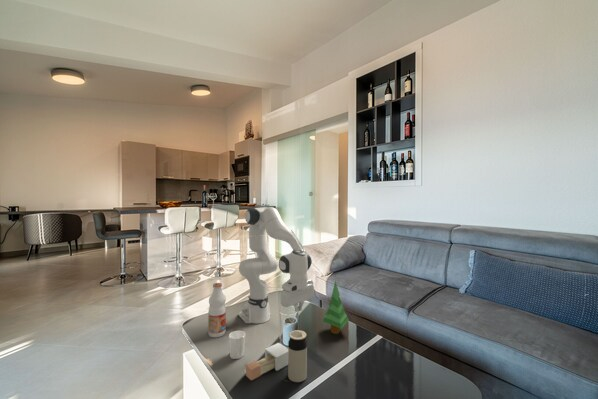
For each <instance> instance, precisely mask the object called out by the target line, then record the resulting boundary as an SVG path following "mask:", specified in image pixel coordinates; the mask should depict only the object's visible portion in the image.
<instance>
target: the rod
mask: <svg viewBox="0 0 598 399" xmlns="http://www.w3.org/2000/svg"><path fill="white" fill-rule="evenodd" d="M285 347H286V346H285ZM286 348H288V347H286ZM256 362H257V363H258V364H259V365H260V376H262V375H263V374H265V373H268V372H270V371H271V370H273V369H275V357H273V356H272V355H269V356H267V357H265V356H264V357H263V358H261V359H259V360H257V361H256Z"/></svg>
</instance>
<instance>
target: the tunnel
mask: <svg viewBox="0 0 598 399" xmlns="http://www.w3.org/2000/svg"><path fill="white" fill-rule="evenodd" d="M264 354H265V355H264V358H265V357H267V356H269V355H272V356H273V357H275V368H274V370H275V371H279V370H281V369H283V368H285V367H286V366H287V367H288V347H287V348H286V346H284V345H283V344H281V343H280V342H277V343H275V344H272V345H270V346H268V347H266V348H264Z"/></svg>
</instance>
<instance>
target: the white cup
mask: <svg viewBox="0 0 598 399" xmlns="http://www.w3.org/2000/svg"><path fill="white" fill-rule="evenodd" d="M228 346H229V356H230V357H229V358H231V359H233V360H238V359H241V358H243V357H244V356H245V348H246V332H245V331H243V330H234V331H231V332H230V333H229V334H228Z"/></svg>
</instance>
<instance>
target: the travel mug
mask: <svg viewBox="0 0 598 399" xmlns="http://www.w3.org/2000/svg"><path fill="white" fill-rule="evenodd" d="M288 336H289V340H288V342H287V343H288V345H287V346H288V347H287V348H288V365H287V367H288V368H287V370H288V372H287V376H288V379H289V380H290V381H291V382H293V383H301V382H304V381H305V380H306V379H307V374H308V369H307V368H308V366H307V365H308V360H307V359H308V341H307V339H306V338H307V333H306V332H305V331H304V330H299V329H297V330H292V331H290V332H289V333H288Z"/></svg>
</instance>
